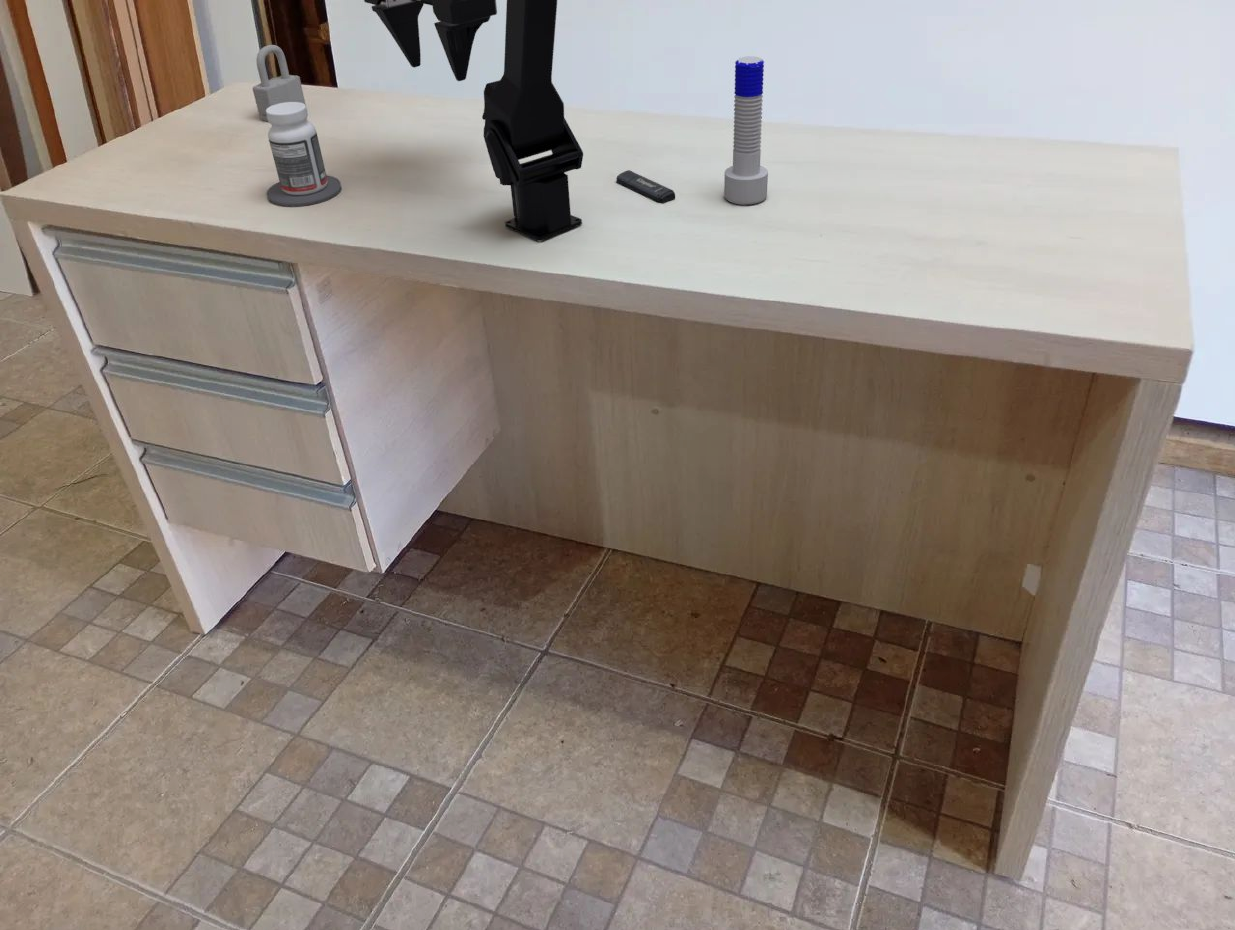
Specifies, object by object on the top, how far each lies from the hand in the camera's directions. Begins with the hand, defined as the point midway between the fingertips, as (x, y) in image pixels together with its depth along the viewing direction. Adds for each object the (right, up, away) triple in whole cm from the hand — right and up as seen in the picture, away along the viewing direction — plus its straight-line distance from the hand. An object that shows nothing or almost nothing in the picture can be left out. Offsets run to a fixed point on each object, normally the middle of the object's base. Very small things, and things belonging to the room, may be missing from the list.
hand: (438, 73), depth 122 cm
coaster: (-18, -12, +6) cm, 23 cm away
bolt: (+36, -15, -1) cm, 40 cm away
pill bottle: (-18, -12, +6) cm, 22 cm away
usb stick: (+25, -14, +2) cm, 29 cm away
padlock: (-29, +6, +33) cm, 44 cm away
